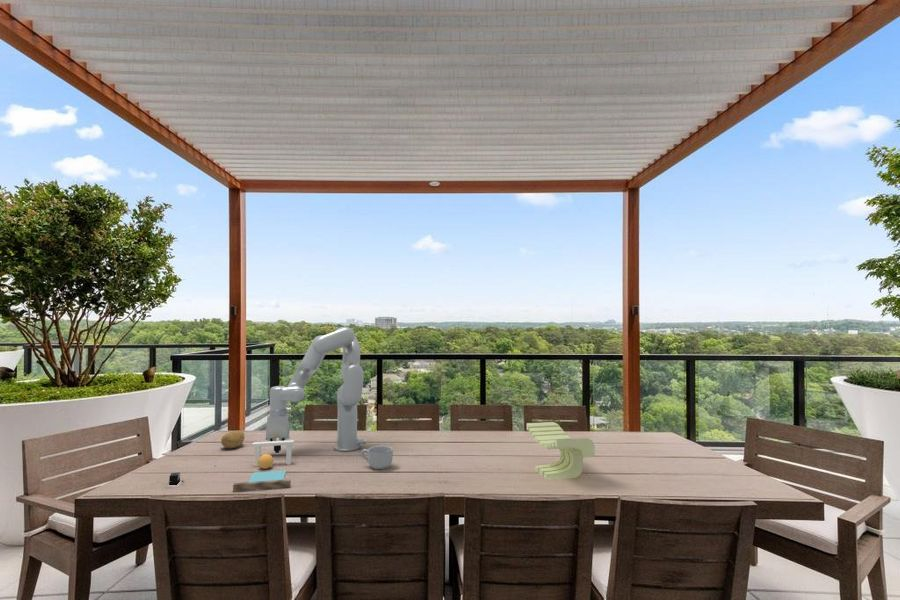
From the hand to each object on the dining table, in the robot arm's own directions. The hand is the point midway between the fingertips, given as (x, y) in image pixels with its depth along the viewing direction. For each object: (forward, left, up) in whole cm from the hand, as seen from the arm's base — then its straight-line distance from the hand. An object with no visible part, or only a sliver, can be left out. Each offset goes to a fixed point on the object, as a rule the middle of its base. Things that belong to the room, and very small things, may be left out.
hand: (277, 452), depth 221 cm
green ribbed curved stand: (-117, +53, -2) cm, 128 cm away
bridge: (0, +14, -2) cm, 14 cm away
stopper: (0, +45, -2) cm, 45 cm away
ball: (+2, +19, +2) cm, 20 cm away
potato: (+23, -20, -2) cm, 31 cm away
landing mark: (0, +31, -2) cm, 31 cm away
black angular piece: (+34, +32, -2) cm, 47 cm away
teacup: (-44, +28, -2) cm, 52 cm away
